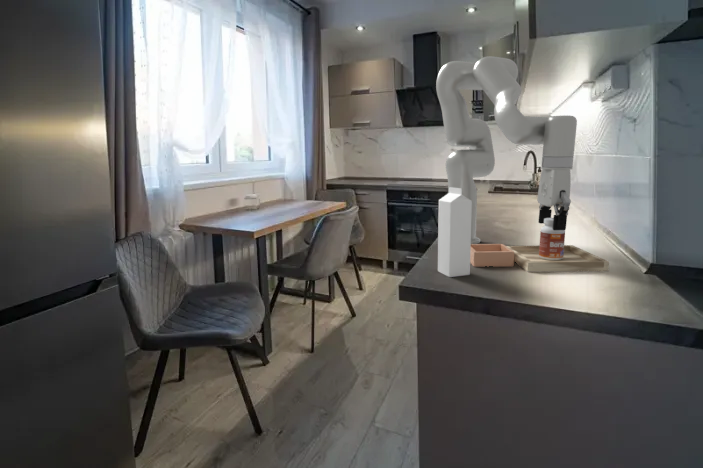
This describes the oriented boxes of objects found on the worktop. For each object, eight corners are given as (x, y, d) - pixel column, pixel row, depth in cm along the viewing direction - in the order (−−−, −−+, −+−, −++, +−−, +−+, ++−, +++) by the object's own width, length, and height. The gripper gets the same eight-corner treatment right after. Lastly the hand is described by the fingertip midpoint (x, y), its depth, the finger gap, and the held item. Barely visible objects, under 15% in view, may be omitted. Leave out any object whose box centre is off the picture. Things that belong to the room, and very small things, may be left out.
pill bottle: (550, 261, 112) (552, 221, 110) (533, 256, 118) (535, 218, 116) (568, 259, 114) (571, 219, 112) (551, 254, 120) (554, 216, 118)
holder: (465, 257, 124) (465, 244, 123) (502, 257, 123) (502, 243, 122) (473, 266, 113) (474, 252, 112) (513, 266, 112) (514, 251, 112)
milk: (449, 277, 104) (450, 189, 100) (437, 271, 110) (438, 187, 105) (470, 274, 106) (472, 187, 102) (457, 268, 111) (459, 186, 107)
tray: (504, 254, 126) (504, 246, 126) (571, 253, 125) (572, 245, 125) (527, 271, 107) (528, 262, 106) (608, 271, 105) (609, 261, 105)
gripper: (530, 162, 120) (526, 221, 123) (556, 165, 103) (550, 232, 107) (557, 162, 119) (552, 221, 123) (587, 165, 103) (580, 232, 106)
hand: (551, 226), depth 115 cm, fingers open, 9 cm apart
